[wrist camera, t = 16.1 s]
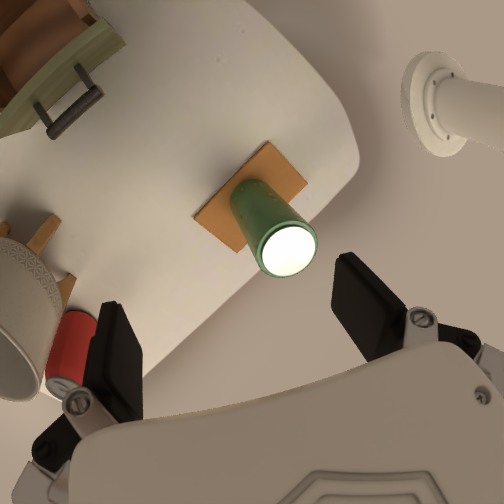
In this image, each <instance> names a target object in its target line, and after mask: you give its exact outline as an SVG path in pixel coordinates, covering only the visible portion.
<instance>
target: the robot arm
mask: <svg viewBox="0 0 504 504" xmlns="http://www.w3.org/2000/svg"><path fill="white" fill-rule="evenodd" d="M423 105H424V112H425V117H426V120H427V123H428V125H429V127H430V129H431V131H432V132H433V133H434V135H435V136H436V137H438V138H439V139H441V140H443V141H446V142H454V141H456V140H458V139H459V138H460V137H463V138H466V139H469V140H472V141H475V142H478V143H481V144H484V145H486V146H489V147H492V148H494V149H497V150H499V151H502V152H504V87H501V86H496V85H491V84H486V83H480V82H474V81H468V80H462V79H461V78H460V76H459V75H458V74H457V73H455V72H454V71H452V70H450V69H444V68H442V69H437V70H435V71H434V72H432V73H431V75H430V76H429V77H428V79H427V82H426V85H425V88H424V95H423ZM405 306H406V305H405V304H404V303H403V302H402V301H401V300H400V299H399V298H398V297H397V296H396V295H395V294H394V293H393V292H392V291H391V290H390V289H389V288H388V287H387V286H386V285H385V284H384V282H383V281H382V280H380V278H379V277H378V276H377V275H375V274H374V272H373V271H372V270H371V269H369V267H367V266H366V264H364V263H363V262H362V261H361V260H360V259H359V258H358V257H357V256H356V255H355V254H354V253H353V252H348V253H344V254H340V255H339V258H337V259H336V262H335V273H334V282H333V291H332V300H331V308H332V311H333V313H334V314H335V315H336V317H337V318H338V320H339V321H340V323H341V324H342V325H343V327H344V328H345V330H346V331H347V333H348V334H349V336H350V337H351V339H352V340H353V342H354V343H355V344H356V346H357V347H358V349H359V350H360V352H361V353H362V355H363V356H364V358H365V359H366V361H367V362H368V363H365V364H363V365H360V366H358V367H356V368H353V369H350V370H347V371H345V372H342V373H339V374H336V375H334V376H331V377H328V378H325V379H322V380H319V381H316V382H313V383H310V384H307V385H303V386H300V387H297V388H294V389H290V390H287V391H283V392H280V393H277V394H273V395H269V396H266V397H262V398H258V399H254V400H250V401H245V402H241V403H237V404H232V405H228V406H223V407H219V408H213V409H208V410H203V411H197V412H191V413H186V414H179V415H173V416H167V417H160V418H153V419H145V420H143V398H142V397H143V393H142V363H143V353H142V348H141V346H140V344H139V342H138V340H137V338H136V336H135V334H134V331H133V329H132V327H131V325H130V323H129V321H128V319H127V316H126V314H125V312H124V310H123V308H122V305H121V304H117V303H116V301H111V302H105V303H102V305H101V309H100V313H99V318H98V322H97V327H96V331H95V336H92V337H91V339H90V343H89V348H88V353H87V358H86V364H85V369H84V375H83V382H82V387H76V388H73V389H71V390H70V391H68V392H67V393H66V395H65V396H64V398H63V401H62V410H63V412H64V413H63V414H62V415H61V416H60V417H59V418H58V419H57V420H56V421H55V422H54V423H52V424H51V425H50V426H49V427H48V428H47V429H46V430H45V431H44V432H43V433H42V434H41V435H40V436H39V437H38V438H37V439H36V440H35V441H34V443H33V445H32V457H33V460H32V462H30V461H28V463H27V465H26V466H25V468H24V470H23V472H22V474H21V476H20V477H19V479H18V481H17V483H16V485H15V487H14V489H13V492H12V502H13V504H504V352H502V351H500V350H498V349H496V348H494V347H492V346H490V345H487V344H486V343H484V345H481V341H480V339H479V337H478V336H477V335H476V334H475V333H473V332H472V331H469V330H466V329H461V328H457V327H452V326H448V325H444V324H440V323H438V321H437V317H436V316H435V314H434V313H433V312H432V311H430V310H429V309H427V308H424V307H413V308H411V309H409V310H407V308H406V307H405Z"/></svg>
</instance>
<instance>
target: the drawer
mask: <svg viewBox="0 0 504 504" xmlns="http://www.w3.org/2000/svg"><path fill="white" fill-rule="evenodd" d="M125 45H126V43H125V42H124V41H123V39H122V38H121V37H120V35H119V34H118V33H117V32H116V31H115V30H114V29H113V28H112V26H111V25H110V24H109V23H108V22H107V21H106V20H105V19H104V18H103V17H102V18H101V19H99V18H98V16H97V15H96V13H95V12H94V11H93V9H92V8H91V6H90V5H89V3H88V2H87V1H86V0H0V113H1V114H0V138H3V137H6V136H9V135H12V134H15V133H18V132H22V131H25V130H28V129H31V127H32V126H33V125H34V124H35V123H36V122H37V121H38V120H39V119H40V118H41V120H42V121H43V123H44V124H45V126H46V127H47V129H46V133H47V135H48V137H49V138H50V139H52V140H56V139H57V138H58V137H59V136H60V135H61V134H62V133H63V132H64V131H65V130H66V129H67V128H68V127H69V126H70V125H71V124H72V123H73V122H74V121H76V120H77V119H78V118H79V117H80V116H81V115H82V114H83V113H84V112H86V111H87V110H88V109H89V108H90V107H91V106H93V105H94V104H95V103H96V102H97V101H99V100H100V99H101V98H102V97H104V95H105V94H104V92H103V90H102V89H101V87H100V86H99V85H97V84H94V83H93V81H92V80H91V78H90V77H89V75H88V73H89V72H90V71H92V70H93V69H94V68H95V67H97V66H98V65H99V64H101V63H102V62H103V61H104V60H106V59H107V58H108V57H110V56H111V55H113V54H114V53H115V52H117V51H118V50H120V49H121V48H122V47H124V46H125ZM81 79H82V81H83V82H84V84H85V85H86V87H87V88H88V89H89V90H88V91H87V92H86V93H85V94H83V95H82V96H81V97H80V98H79V99H78V100H76V101H75V102H74V103H73V104H72V105H71V106H70V107H69V108H68V109H67V110H66V111H65V112H63V113H62V114H61V115H60V116H59V117H58V118H57V119H56V120H55V121H54V122H52V120H51V119H50V117H49V116H48V114H47V113H46V111H47V110H48V109H49V108H50V107H51V106H52V105H53V104H54V103H55V102H57V101H58V100H59V99H60V98H61V97H62V96H63V95H64V94H65V93H66V92H67V91H68V90H69V89H70V88H72V87H73V86H74V85H75V84H76V83H77V82H78V81H80V80H81Z"/></svg>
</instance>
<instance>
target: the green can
mask: <svg viewBox="0 0 504 504" xmlns="http://www.w3.org/2000/svg"><path fill="white" fill-rule="evenodd" d="M230 208H231V211H232V213H233V215H234V217H235V219H236V221H237V223H238V225H239V227H240V229H241V231H242V233H243V235H244V237H245V239H246V241H247V243H248V245H249V247H250V249H251V251H252V253H253V255H254V257H255V259H256V261H257V263H258V265H259V267H260V268H261V270H262V271H263V272H265V273H266V274H268V275H270V276H273V277H278V278H283V277H284V278H285V277H289V276H293V275H295V274H298V273H299V272H301V271H302V270H304V269H305V268H306V267H307V266H308V265H309V264H310V263H311V261H312V260H313V258H314V256H315V254H316V251H317V244H318V243H317V236H316V234H315V231H314V230H313V228H312V227H311V226H310V225H309V224H308V223H307V222H306V221H305V220H304V219H303V218H302V217H301V216H300V215H299V214H298V213H297V212H296V211H295V210H294V209H293V208H292V207H291V206H290V205H289V204H288V203H287V202H286V201H285V200H284V199H283V198H282V197H281V196H280V195H279V194H278V193H277V192H276V191H275V190H273V189H272V188H271V187H270V186H269V185H268V184H267V183H266V182H264V181H262V180H259V179H249V180H246V181H243V182H241V183H240V184H238V185H237V186H236V187H235V189H234V190H233V192H232V194H231V196H230Z"/></svg>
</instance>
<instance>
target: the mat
mask: <svg viewBox="0 0 504 504" xmlns="http://www.w3.org/2000/svg"><path fill="white" fill-rule="evenodd" d="M249 179H259V180H262V181H264V182H266V183H267V184H268V185H269V186H270V187H271V188H272V189H273V190H275V191H276V192H277V193H278V194H279V195H280V196H281V197H282V198H283V199H284V200H285V201H286V202H287V203H289V202H290V201H291V200H292V199H293V198H294V197H295V196H296V195H297V194H298V193H299V192H300V191H301V190H302V189H303V188H304V187H305V186H306V185H307V184H308V183H307V182H306V181H305V180H304V179H303V178H302V176H301V175H300V174H299V173H298V172H297V171H296V170H295V169H294V168H293V166H292V165H291V164H290V163H289V162H288V161H287V160H286V159H285V158H284V157H283V156H282V154H281V153H280V152H279V151H278V150H277V149H276V148H275V147H274V146H273V145H272V144H271V143H270V142H267V143H266V144H265V145H264V146H263V147H262V148H261V149H260V150H259V151H258V152H257V153H256V154H255V155H254V156H253V157H252V158H251V159H250V160H249V161H248V162H247V163H246V164H245V165H244V166H243V167H242V168H241V169H240V170H239V171H238V172H237V173H236V174H235V175H234V176H233V177H232V178H231V179H230V180H229V181H228V182H227V183H226V184H225V185H224V186H223V187H222V188H221V189H220V190H219V191H218V192H217V193H216V194H215V195H214V196H213V197H212V199H211V200H210V201H209V202H208V203H207V204H206V205H205V206H204V207H203V208H202V209H201V210H200V211H199V212H198V213H197V215H196V216H195V217H194V220H195V221H196V222H198V223H199V224H200V225H201V226H203V227H204V228H205V229H207V230H208V231H209V232H210V233H212V234H213V235H214V236H215V237H217V238H218V239H219V240H221V241H222V242H223V243H224V244H226V245H227V246H228V247H230V248H231V249H232V250H233V251H235V252H236V253H238V252H239V251H240V250H241V249H242V248H243V247H244V246H245V245H246V244H247V241H246V239H245V237H244V235H243V233H242V231H241V229H240V227H239V225H238V223H237V221H236V219H235V217H234V215H233V213H232V211H231V208H230V196H231V194H232V192H233V190H234V189H235V187H236V186H237V185H238V184H240V183H241V182H243V181H246V180H249Z"/></svg>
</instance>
